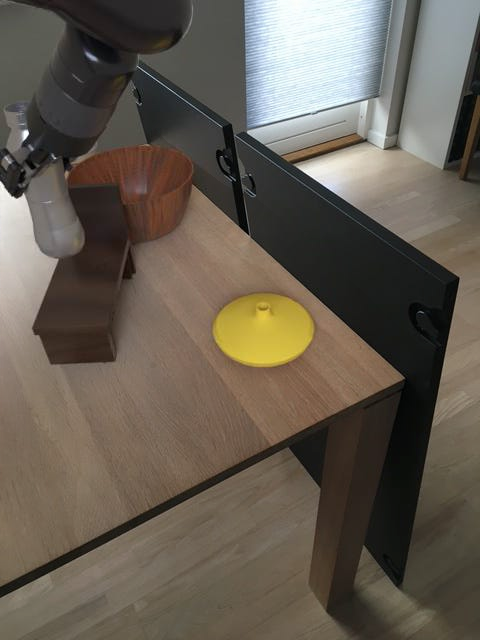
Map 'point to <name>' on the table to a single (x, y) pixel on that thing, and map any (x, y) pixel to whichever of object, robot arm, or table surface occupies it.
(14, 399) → the table surface
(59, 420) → the table surface
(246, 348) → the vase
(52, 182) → the plastic bottle
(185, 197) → the bowl
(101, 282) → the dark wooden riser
